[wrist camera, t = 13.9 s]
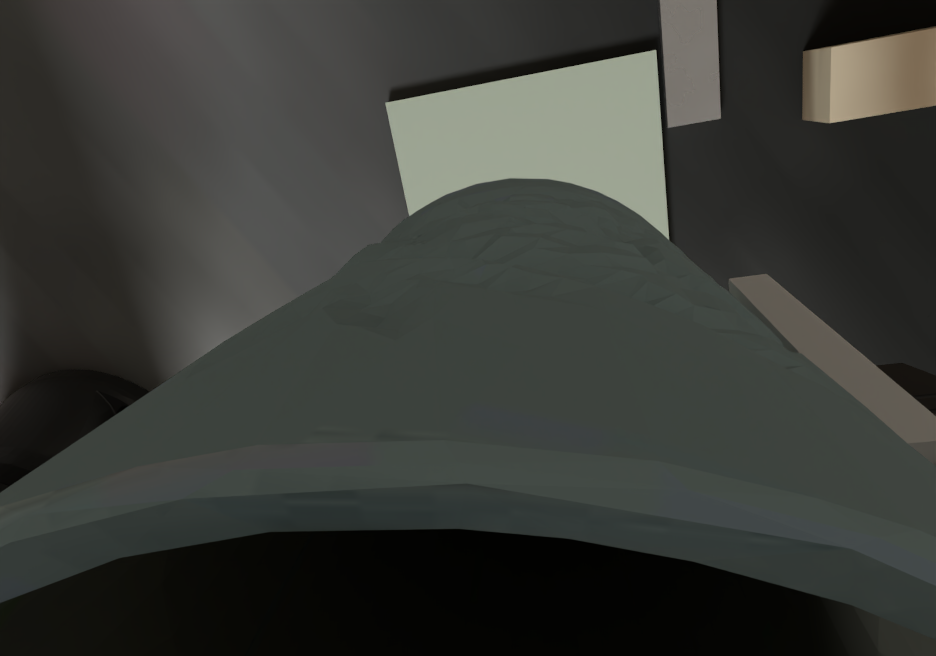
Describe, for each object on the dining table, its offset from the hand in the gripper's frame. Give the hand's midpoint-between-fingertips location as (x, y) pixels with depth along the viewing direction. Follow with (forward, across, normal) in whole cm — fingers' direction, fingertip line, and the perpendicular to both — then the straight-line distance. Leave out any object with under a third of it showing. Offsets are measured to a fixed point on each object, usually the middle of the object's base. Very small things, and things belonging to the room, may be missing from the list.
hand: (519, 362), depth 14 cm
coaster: (+19, 0, 0) cm, 19 cm away
